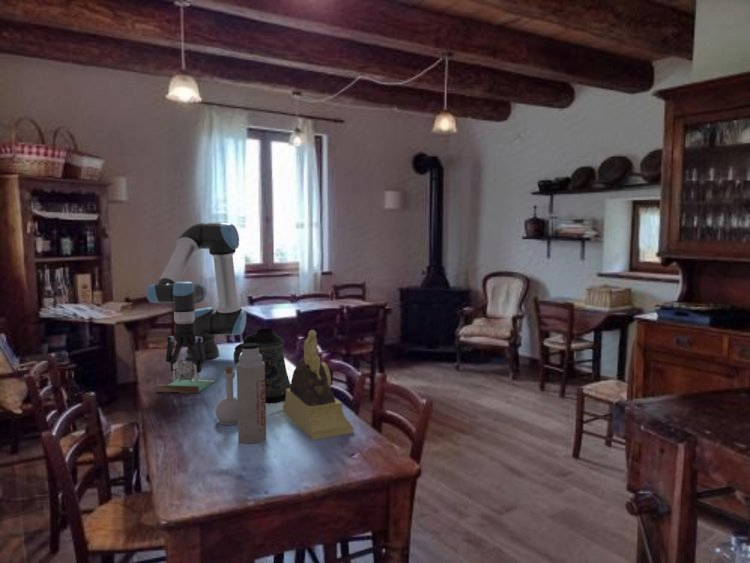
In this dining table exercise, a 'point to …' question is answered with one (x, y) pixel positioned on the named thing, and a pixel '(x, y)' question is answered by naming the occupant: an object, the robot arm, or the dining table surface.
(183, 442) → the dining table surface
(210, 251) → the robot arm
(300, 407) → the seated figure statue
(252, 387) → the thermos bottle
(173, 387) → the walnut backstop rail
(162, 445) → the dining table surface
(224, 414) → the potion bottle
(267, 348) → the beer stein
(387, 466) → the dining table surface
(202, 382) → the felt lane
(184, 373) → the game die
